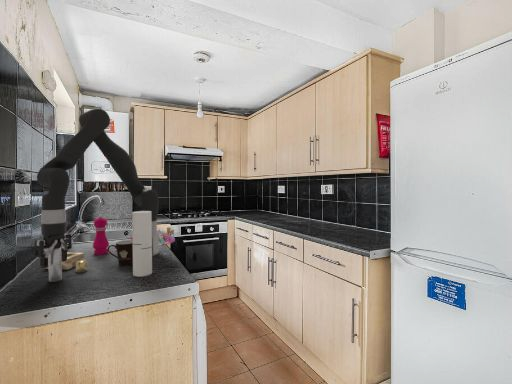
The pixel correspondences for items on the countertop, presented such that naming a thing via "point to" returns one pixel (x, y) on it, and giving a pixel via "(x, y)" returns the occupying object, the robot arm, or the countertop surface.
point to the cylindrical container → (142, 243)
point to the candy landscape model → (164, 236)
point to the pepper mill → (100, 236)
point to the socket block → (71, 260)
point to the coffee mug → (124, 252)
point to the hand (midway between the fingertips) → (54, 264)
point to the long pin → (55, 265)
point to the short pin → (81, 266)
